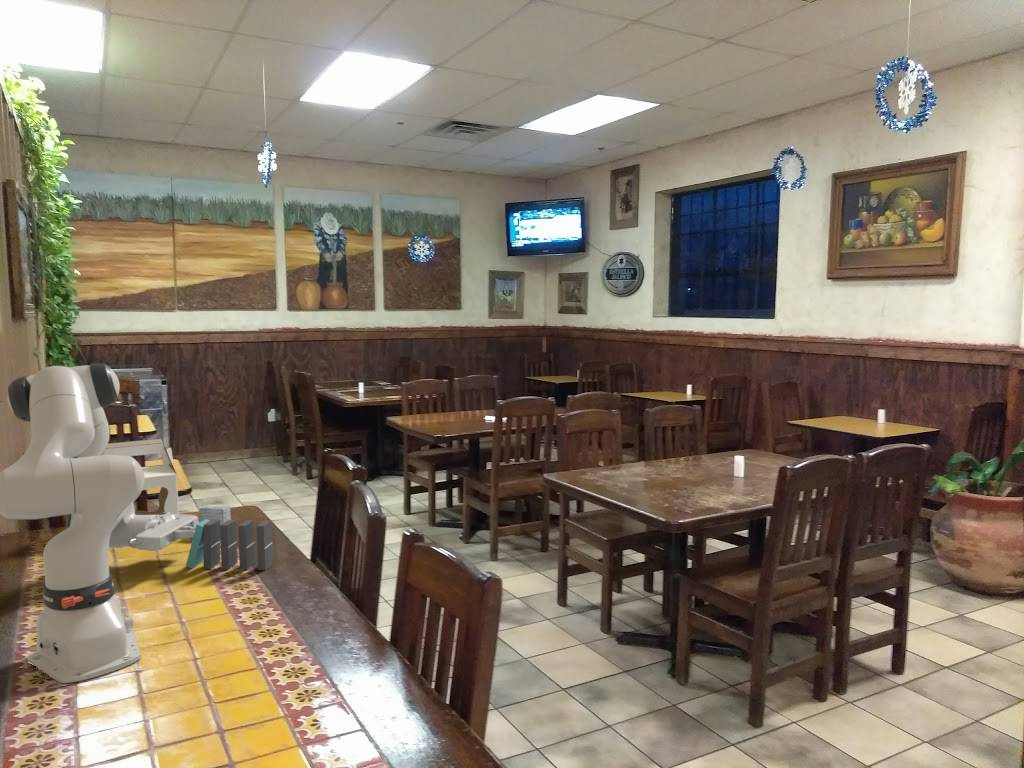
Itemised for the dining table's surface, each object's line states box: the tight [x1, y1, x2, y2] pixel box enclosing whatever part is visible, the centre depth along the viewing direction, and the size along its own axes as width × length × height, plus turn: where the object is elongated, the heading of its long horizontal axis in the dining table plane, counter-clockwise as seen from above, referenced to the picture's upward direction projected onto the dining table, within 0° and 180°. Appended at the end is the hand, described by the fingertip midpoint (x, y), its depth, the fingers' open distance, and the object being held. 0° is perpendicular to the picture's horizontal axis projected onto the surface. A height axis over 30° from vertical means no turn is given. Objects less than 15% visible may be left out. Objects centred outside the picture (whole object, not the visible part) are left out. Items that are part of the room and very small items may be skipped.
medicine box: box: [198, 504, 232, 525], centre depth 219 cm, size 8×4×9 cm, turn 84°
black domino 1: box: [203, 519, 221, 570], centre depth 191 cm, size 2×5×12 cm, turn 175°
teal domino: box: [185, 519, 210, 569], centre depth 192 cm, size 2×5×12 cm, turn 175°
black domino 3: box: [237, 519, 257, 570], centre depth 191 cm, size 2×5×12 cm, turn 175°
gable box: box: [101, 438, 180, 515], centre depth 223 cm, size 22×13×28 cm, turn 124°
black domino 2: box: [220, 519, 239, 570], centre depth 191 cm, size 2×5×12 cm, turn 175°
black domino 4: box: [255, 520, 274, 571], centre depth 190 cm, size 2×5×12 cm, turn 175°
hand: (197, 532), depth 191 cm, fingers closed
